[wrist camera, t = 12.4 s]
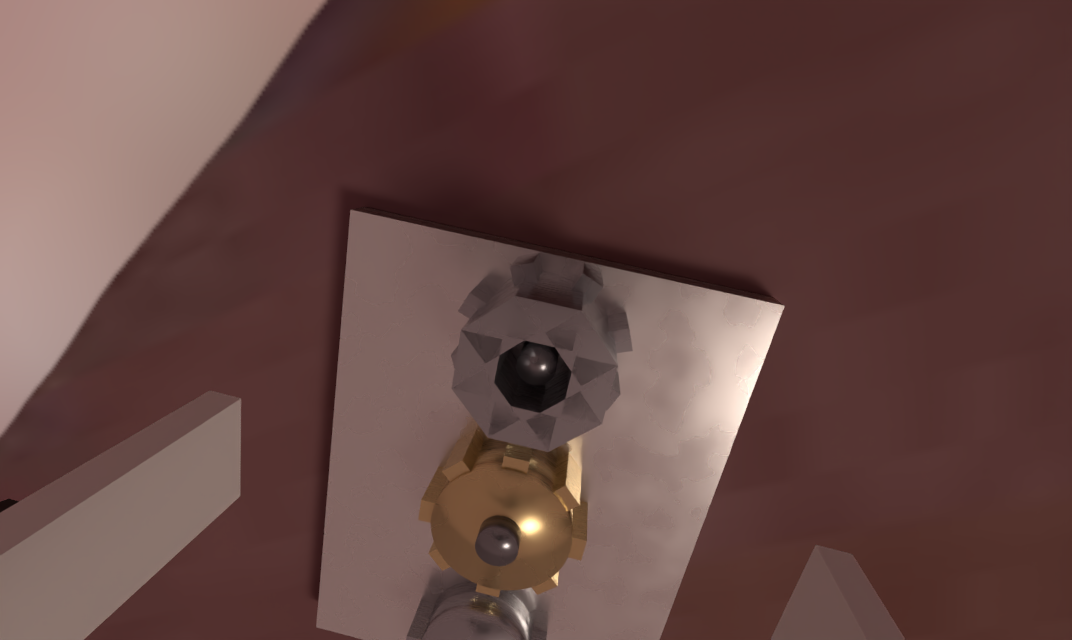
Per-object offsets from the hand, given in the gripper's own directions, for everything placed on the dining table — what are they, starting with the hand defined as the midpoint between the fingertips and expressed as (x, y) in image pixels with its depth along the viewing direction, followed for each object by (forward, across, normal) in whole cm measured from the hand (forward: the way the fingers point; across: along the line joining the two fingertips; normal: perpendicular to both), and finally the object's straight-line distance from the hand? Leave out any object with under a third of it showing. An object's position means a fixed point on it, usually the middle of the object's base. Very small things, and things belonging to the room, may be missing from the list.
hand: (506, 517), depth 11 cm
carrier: (+14, -1, -10) cm, 17 cm away
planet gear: (+13, -1, 0) cm, 13 cm away
